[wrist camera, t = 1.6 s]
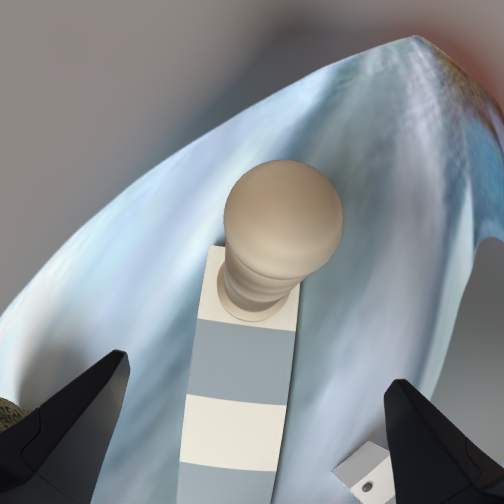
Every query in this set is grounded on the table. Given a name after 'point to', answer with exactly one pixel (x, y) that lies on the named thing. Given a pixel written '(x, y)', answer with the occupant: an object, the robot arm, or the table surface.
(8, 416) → the cup
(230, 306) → the round-topped post
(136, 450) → the table surface
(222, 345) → the board
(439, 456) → the robot arm
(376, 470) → the die
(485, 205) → the table surface
